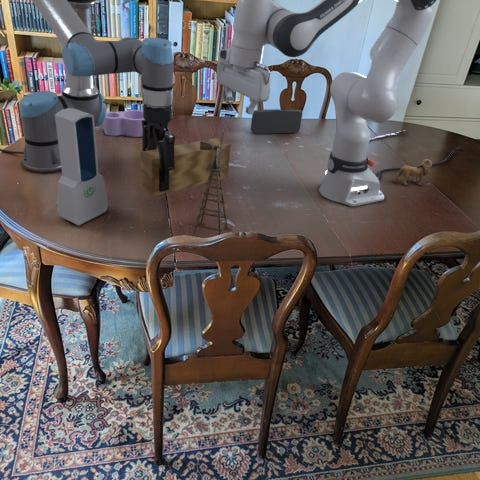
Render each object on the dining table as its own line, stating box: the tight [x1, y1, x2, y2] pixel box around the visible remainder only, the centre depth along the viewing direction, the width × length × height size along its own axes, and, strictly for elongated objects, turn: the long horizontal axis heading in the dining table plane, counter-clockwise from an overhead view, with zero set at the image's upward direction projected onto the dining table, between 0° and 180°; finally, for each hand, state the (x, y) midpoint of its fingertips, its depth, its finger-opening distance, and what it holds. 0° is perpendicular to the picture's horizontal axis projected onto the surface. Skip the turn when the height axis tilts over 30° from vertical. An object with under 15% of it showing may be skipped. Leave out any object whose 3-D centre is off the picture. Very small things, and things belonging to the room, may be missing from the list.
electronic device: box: [55, 108, 109, 226], centre depth 126 cm, size 12×8×30 cm, turn 148°
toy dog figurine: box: [392, 158, 433, 186], centre depth 172 cm, size 15×5×9 cm, turn 110°
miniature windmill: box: [192, 132, 229, 237], centre depth 124 cm, size 9×8×30 cm
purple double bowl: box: [102, 109, 145, 138], centre depth 190 cm, size 20×12×7 cm, turn 109°
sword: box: [370, 131, 408, 142], centre depth 215 cm, size 31×3×1 cm, turn 126°
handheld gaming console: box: [250, 108, 303, 135], centre depth 204 cm, size 23×3×10 cm, turn 108°
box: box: [140, 137, 231, 197], centre depth 135 cm, size 26×6×11 cm, turn 128°
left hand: (158, 185), depth 132 cm, fingers closed on box, 6 cm apart
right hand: (239, 108), depth 134 cm, fingers open, 8 cm apart
